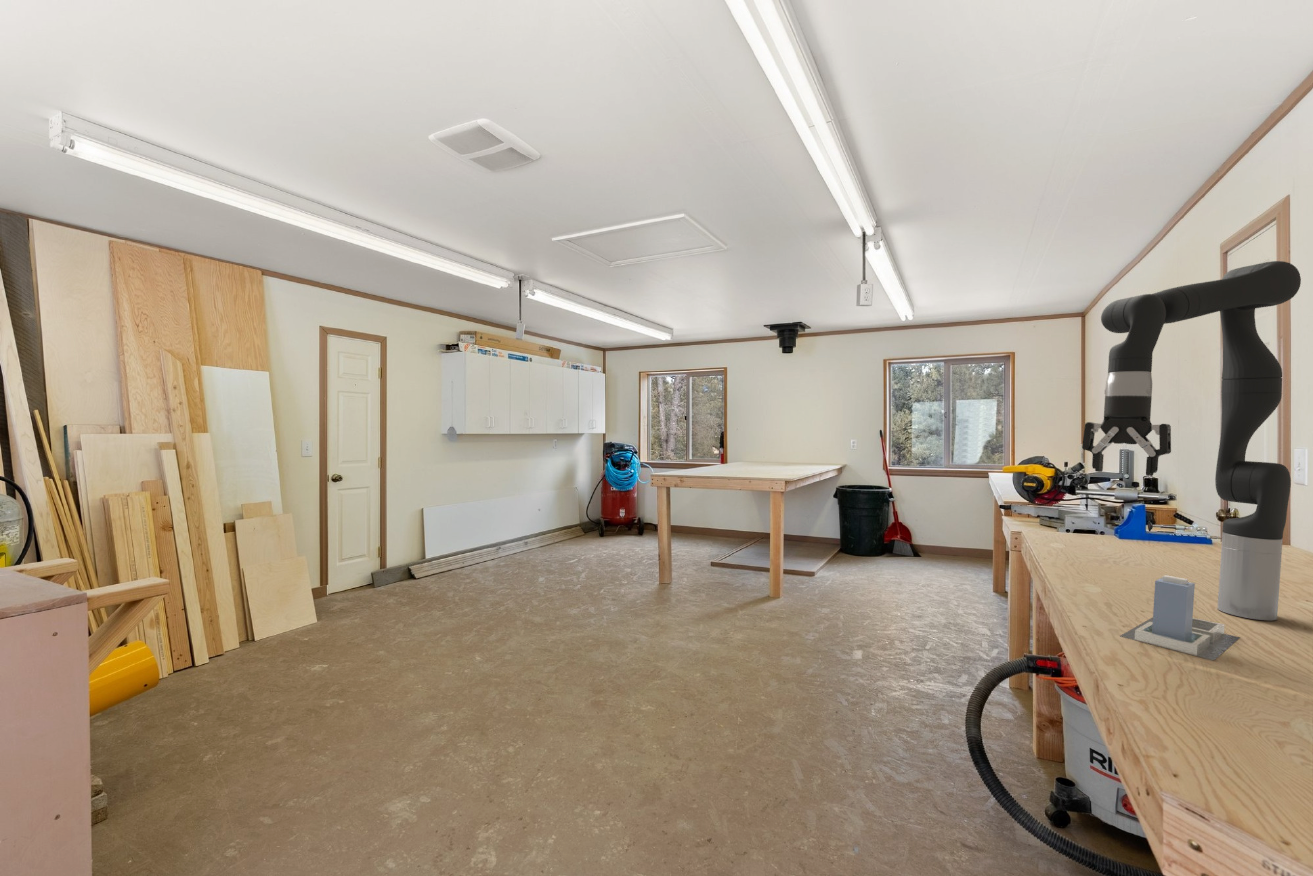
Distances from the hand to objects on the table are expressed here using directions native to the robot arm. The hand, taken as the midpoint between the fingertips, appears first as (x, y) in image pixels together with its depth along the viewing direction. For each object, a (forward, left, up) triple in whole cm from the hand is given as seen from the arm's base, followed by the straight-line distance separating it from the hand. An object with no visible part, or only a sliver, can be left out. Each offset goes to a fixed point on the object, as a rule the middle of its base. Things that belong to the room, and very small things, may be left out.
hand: (1123, 473), depth 122 cm
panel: (+5, +11, -30) cm, 33 cm away
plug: (+11, +11, -29) cm, 33 cm away
